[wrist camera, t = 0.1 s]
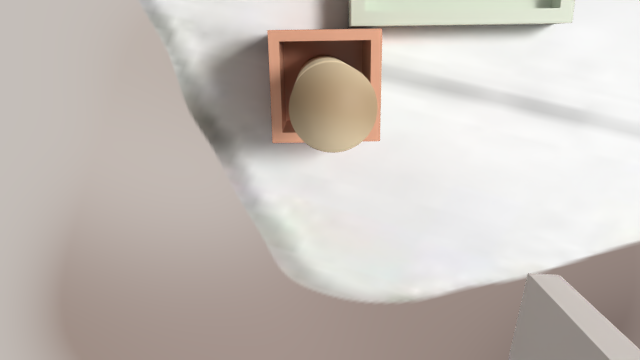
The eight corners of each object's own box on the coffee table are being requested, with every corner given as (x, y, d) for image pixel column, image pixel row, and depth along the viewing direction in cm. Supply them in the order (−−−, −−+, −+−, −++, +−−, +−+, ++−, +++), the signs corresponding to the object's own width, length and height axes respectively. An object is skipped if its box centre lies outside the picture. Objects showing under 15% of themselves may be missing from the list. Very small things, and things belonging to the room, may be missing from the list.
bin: (274, 32, 36) (267, 30, 30) (370, 30, 36) (382, 28, 30) (278, 127, 38) (272, 143, 32) (369, 126, 38) (379, 141, 32)
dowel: (297, 55, 36) (287, 63, 20) (349, 54, 36) (378, 62, 20) (298, 107, 37) (290, 153, 22) (349, 106, 37) (376, 151, 22)
